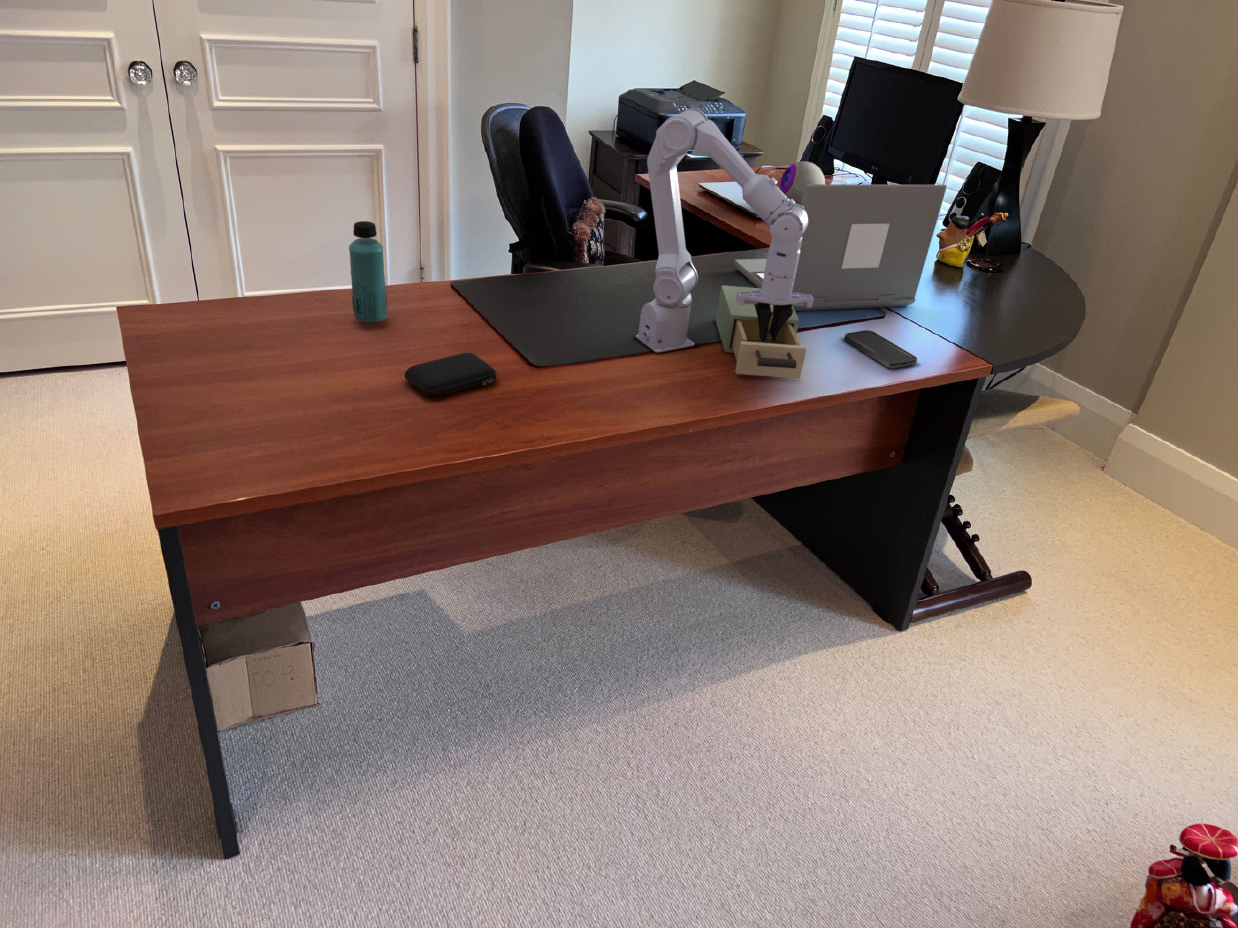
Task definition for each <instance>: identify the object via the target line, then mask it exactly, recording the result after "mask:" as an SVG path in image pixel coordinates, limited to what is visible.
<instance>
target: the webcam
mask: <svg viewBox="0 0 1238 928" xmlns="http://www.w3.org/2000/svg"><path fill="white" fill-rule="evenodd" d="M805 184H826V179H825V175H824V173H823V171H822V169H821V168H820V167H819V166H817V165H816V164H815V163H813V162H810V161H804V160H803V161H797V162H795V163H792V164H790V165H789V166H787V168H786V169H785V170H784V172H783V173H782V175H781V178H780V181H779V189H780V190H781V191H782V192H783V193H784V195H785V196H786V197H787V199H789V200H791V199H793V200H794V202H795V204H799V205H801V203H802V198H803V193H804V188H805ZM787 199H786V200H787ZM786 200H785V201H786Z"/></svg>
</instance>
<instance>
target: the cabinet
mask: <svg viewBox="0 0 1238 928" xmlns="http://www.w3.org/2000/svg"><path fill="white" fill-rule="evenodd" d="M754 290H761V288H758V287H746V286H735V285H724V284H723V285H721V287H720V291H719V292H720V293H719V297H718V298H719V299H718V304H717V310H716V316H715V322H716V323H715V324H716V326H717V330H718V333H719V337H720V340H721V344H722V347H723V351H724V353H731V354H734V351H733V348H732V345H731V336H732V331H733V325H734V319H743V320H756V321H758V317H757V313H756V309H755V306H754V304H744V305H738V304H737V302H736V298H737V292H746V291H754ZM770 307H771V311H772V313H773V305H770ZM792 309H793V307H792ZM770 322H772V317H771V320H770ZM799 322H800V319H799V317H798V314H797V313H796V311H794V309H793V314H792V316H791V317H790V318H789V319H788V320H787V321H786V322H785V323H791V325H792V327H793V329H794V331H795V334H796V335H797V333H798V327H799Z"/></svg>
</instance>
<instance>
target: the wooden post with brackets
mask: <svg viewBox="0 0 1238 928" xmlns="http://www.w3.org/2000/svg"><path fill="white" fill-rule="evenodd" d="M771 339H772V338H771V334H770V332H769V326H768V331H767V337H766V340H765V342H762V341H760V342H762V343H771V344H773V343H772V340H771Z"/></svg>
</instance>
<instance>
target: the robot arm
mask: <svg viewBox="0 0 1238 928" xmlns="http://www.w3.org/2000/svg"><path fill="white" fill-rule="evenodd" d="M655 132H656V133H655V138H654V141H653V144H652V146H651V149H650V150H649V153H648V156H647V158H646V161H647V162H646V165H647V173H648V179H649V180H648V181H649V189H650V195H651V196H650V197H651V204H652V211H653V217H654V219H653V220H654V226H655V227H654V228H655V235H656V241H657V249H658V258H657V261H656V265H655V270H654V271H655V280H654V283H653V287H652V290H653V291H652V292H653V295H654V296H655V298H654V299H653V300H652V301H650V302H647V303H645V304H643V306H642V307H641V310H640V315H639V316H640V317H639V324H638V333H637V334H636V335H635V338H636V339H637V340H639V341H640V342H641V343H643V344H644V345H645V346H646V347H648V348H649V349H651V350H652V351H653V352H654V353H656V354H657V353H658V354H659V353H663V352H670V351H673V350H674V351H675V350H681V349H685V348H690V347H694V346H695V344H696V343H695V342H694V341H692V340H691V339H689V338H688V337H687V336H688V330H689V329H688V328H689V322H690V316H691V309H692V303H693V302H692V301H693V299H692V294H691V291H692V290H693V289H694V288H695V287H696V286H697V284H698V279H699V274H698V271H697V269H696V267H695V266H694V264H693V262H692V255H691V254H690V252H689V251H688V250H687V247H686V238H685V229H684V222H683V220H684V219H683V213H682V205H681V196H680V195H681V194H680V186H679V177H678V169H677V168H678V167H677V166H678V164H679V163H680V162H681V161H682V160H683V158H684V157H685V156H686V155H687V154H688V152H689V151H690V150H691V149H693V150H692V152H691V156H695V157H696V156H698V157H706V158H710V159H712V161H714V162H715V163H716V165H718V166H719V167H720V168H721V169H722V170H723V171H724V172H725V173H726V174H727V175H728V176H729V177H730V178H731V179H732V180H733V181H734V182H735V183H737V185H739V186H740V187H741V190H742V199H743V201H744V202H745V203H746V204H747V205H748V206H749V207H750V208H751V209H752V210H753V211H754V212H755V214H756V215H757V216H759V218H760V219H761V220H762V221H763V222H764V223H765V224H766V225H768V226H769V234H770V236H771V241H770V244H769V247H768V252H767V256H766V257H767V258H766V259H767V262H766V268H765V273H764V278H763V283H762V289H761V290H754V291H746V292H737V298H736V302H737V304H738V305H744V304H754V306H755V309H756V313H757V317H758V323H759V338H760V340H761V341H762V342H765V340H766V337H767V331H768V326H769V323H770V320H771V317H772V322H771V326H770V331H769V332H770V334H771V338H772V339H771V340H772V342H775V340H776V338H777V336H778V334H779V332H780V330H781V328H782V327H783V325H784V324H785V322H786V321H787V320H788V319H789V318H790V317H791V316H792V314H793V309H792V306H806V307H812V304H813V300H814V298H813V297H812V295H811V294H802V293H796V292H792V290H793V285H794V280H795V275H796V271H797V266H798V261H799V256H800V247H801V245H802V234H803V233H804V231H805V230H806V228H807V226H808V221H809V220H808V215H807V213H806V211H805V210H804V207H803V206H801V205H799V204H795V202H794V200H793V199H791V200H789V199H787V197H786V196H785V195H784V193H783V192H782V191H781V190H780V187H778V186H777V184H778V180H777V179H775V177H771V178H770V177H769V176H768V175H767V174H757V173H756V172H755V171H754V170H753V169H752V168H751V166H750V165H749V164H748V163H747V161H746V160H745V159H744V158H743V157H742V155H741V154H739V152H738V151H737V150H736V148H734V146H733V145H732V144H731V143H730V141H729V140H728V139H727V138H726V137H725V135H724V134H723V133H722V132H721V130H720V129H719V127H718V126H717V124H716V123H715V122H714V121H713V120H711V119H708V117H707V115H706V114H705V113H704V112H703V111H702V110H700V109H698V108H695V107H691V108H687V109H685V110H683V111H682V112H680V113H678V114H676V115H673V116H670V117H669V118H667V119H666V120H665V121H664V122H663V123H662V124H661V125H660V126H659V127H658V128H657V129H656V131H655ZM786 199H787V200H786ZM785 200H786V201H785ZM770 305H773V313H772V311H771V307H770Z"/></svg>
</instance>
